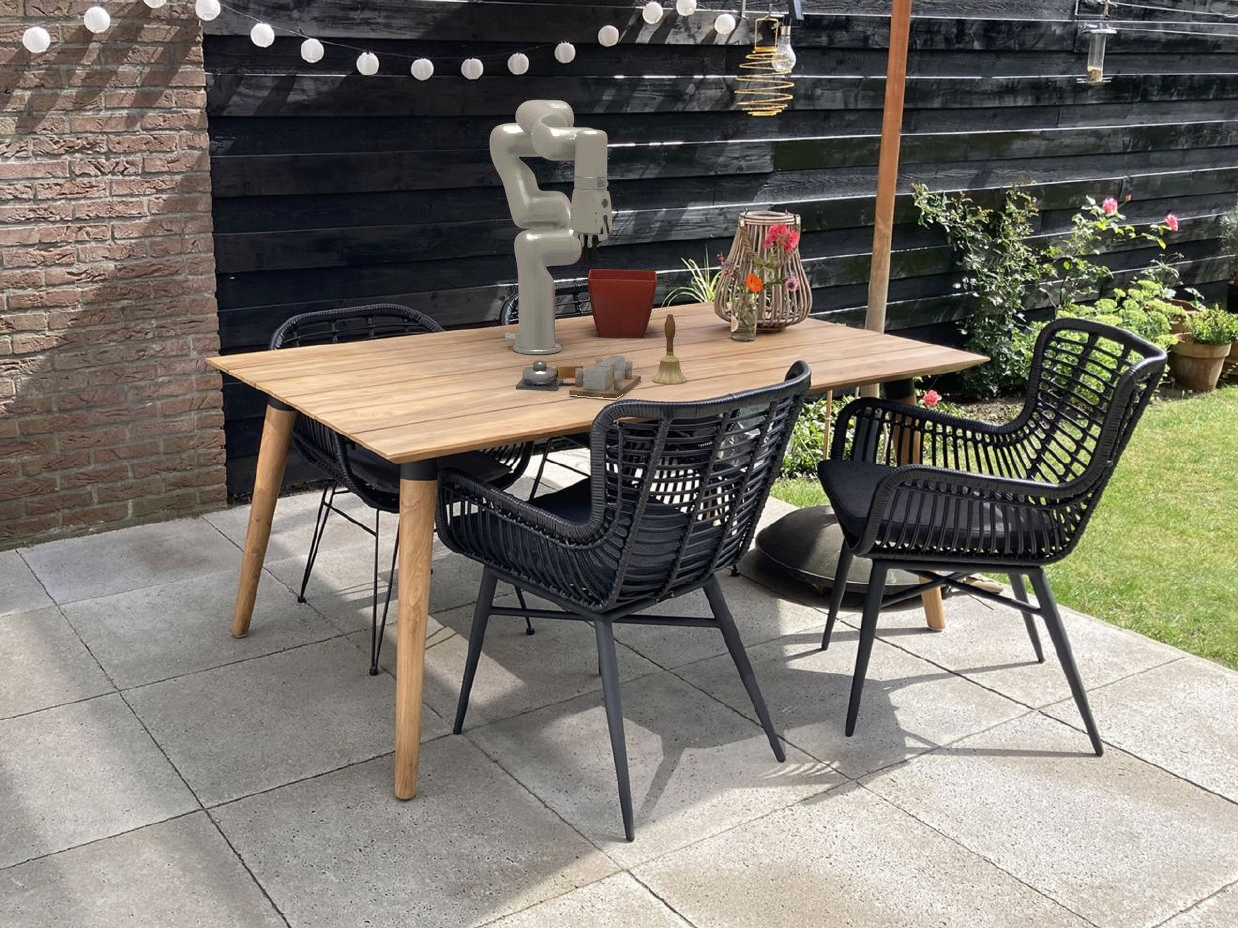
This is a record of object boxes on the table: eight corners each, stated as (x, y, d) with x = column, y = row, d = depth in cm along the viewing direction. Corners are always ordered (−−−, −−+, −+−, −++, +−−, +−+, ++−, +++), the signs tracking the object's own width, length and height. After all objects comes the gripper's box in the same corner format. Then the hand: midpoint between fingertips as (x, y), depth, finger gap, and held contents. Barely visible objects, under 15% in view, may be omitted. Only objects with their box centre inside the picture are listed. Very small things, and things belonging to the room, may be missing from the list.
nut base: (577, 391, 285) (577, 388, 285) (515, 389, 287) (515, 385, 286) (583, 382, 294) (583, 379, 294) (523, 380, 296) (523, 376, 296)
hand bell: (662, 385, 293) (664, 318, 288) (645, 378, 300) (647, 312, 295) (693, 382, 296) (695, 316, 292) (675, 375, 303) (677, 310, 299)
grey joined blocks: (608, 373, 297) (608, 354, 296) (628, 375, 296) (628, 356, 295) (583, 389, 281) (584, 369, 280) (605, 391, 280) (605, 371, 278)
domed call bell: (525, 384, 286) (525, 366, 284) (520, 377, 293) (520, 359, 292) (585, 382, 289) (585, 364, 288) (578, 375, 296) (578, 357, 295)
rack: (569, 396, 281) (569, 372, 279) (596, 378, 299) (596, 355, 297) (615, 400, 278) (616, 376, 276) (640, 381, 296) (641, 359, 294)
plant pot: (655, 341, 345) (657, 280, 340) (586, 339, 345) (587, 278, 340) (654, 328, 363) (656, 270, 359) (589, 327, 364) (589, 269, 359)
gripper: (624, 186, 288) (623, 265, 293) (580, 182, 298) (579, 259, 303) (601, 187, 283) (600, 268, 288) (556, 183, 293) (556, 261, 298)
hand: (589, 263), depth 296 cm, fingers closed
